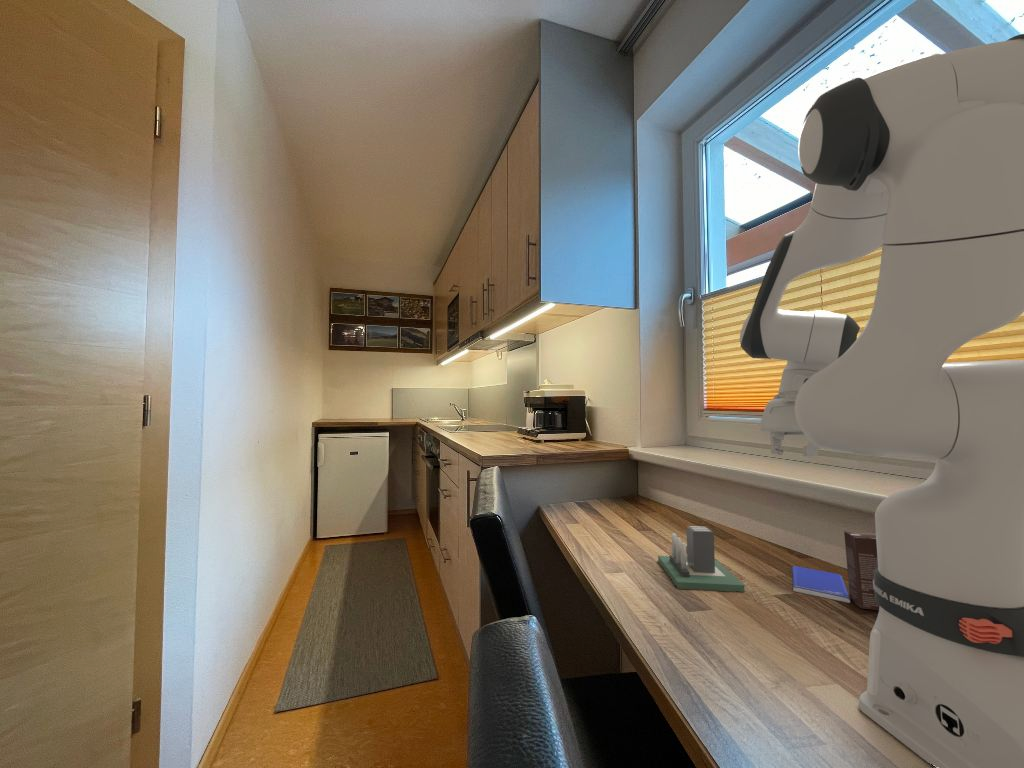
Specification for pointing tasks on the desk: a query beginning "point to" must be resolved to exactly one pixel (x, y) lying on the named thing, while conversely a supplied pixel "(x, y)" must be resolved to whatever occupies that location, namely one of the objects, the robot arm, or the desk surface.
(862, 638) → the desk surface
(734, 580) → the header board
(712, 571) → the plug
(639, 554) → the desk surface
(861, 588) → the box
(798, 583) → the hard drive
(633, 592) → the desk surface
